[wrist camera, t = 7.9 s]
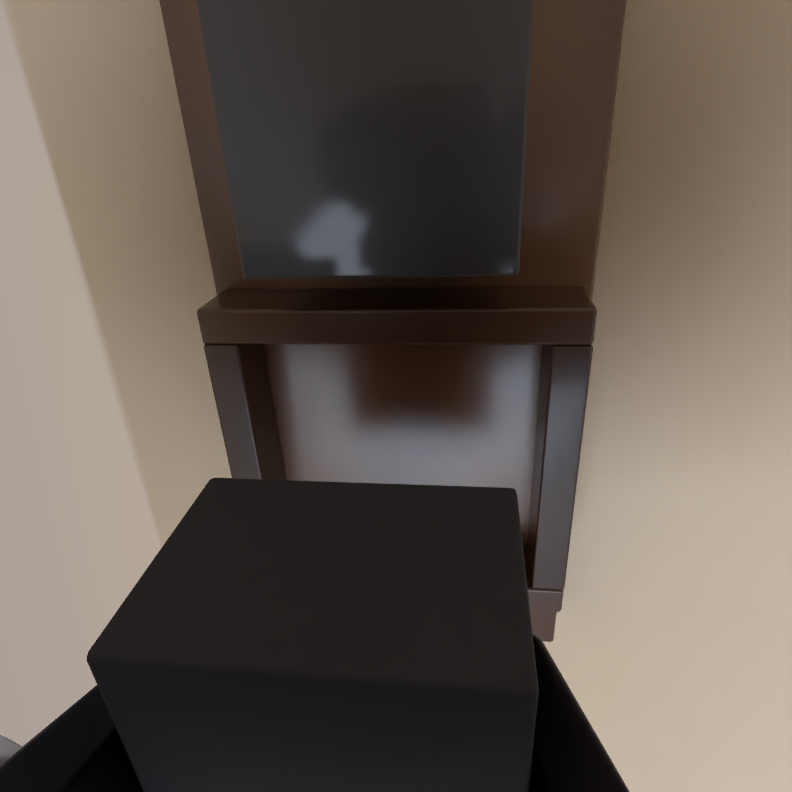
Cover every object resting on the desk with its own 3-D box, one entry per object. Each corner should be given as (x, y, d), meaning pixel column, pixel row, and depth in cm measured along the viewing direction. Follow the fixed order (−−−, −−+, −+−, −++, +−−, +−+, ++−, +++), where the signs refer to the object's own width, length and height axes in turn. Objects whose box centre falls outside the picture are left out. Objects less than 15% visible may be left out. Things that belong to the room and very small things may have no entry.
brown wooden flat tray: (291, 595, 19) (253, 695, 16) (172, -68, 11) (48, -139, 8) (548, 612, 18) (564, 722, 15) (626, -113, 10) (698, -217, 7)
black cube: (257, 676, 12) (180, 881, 9) (209, 475, 9) (80, 656, 6) (504, 696, 11) (516, 927, 8) (517, 485, 9) (540, 693, 6)
